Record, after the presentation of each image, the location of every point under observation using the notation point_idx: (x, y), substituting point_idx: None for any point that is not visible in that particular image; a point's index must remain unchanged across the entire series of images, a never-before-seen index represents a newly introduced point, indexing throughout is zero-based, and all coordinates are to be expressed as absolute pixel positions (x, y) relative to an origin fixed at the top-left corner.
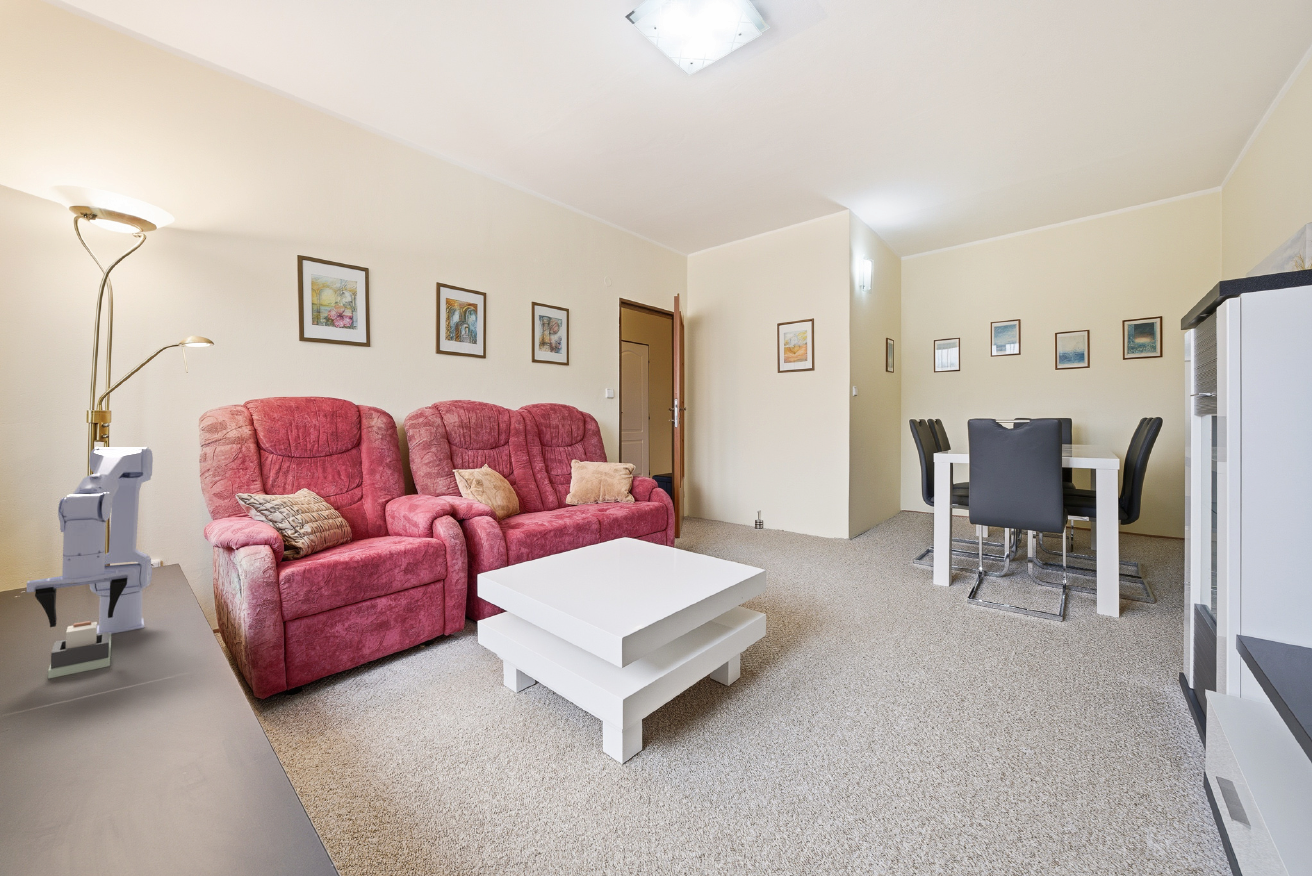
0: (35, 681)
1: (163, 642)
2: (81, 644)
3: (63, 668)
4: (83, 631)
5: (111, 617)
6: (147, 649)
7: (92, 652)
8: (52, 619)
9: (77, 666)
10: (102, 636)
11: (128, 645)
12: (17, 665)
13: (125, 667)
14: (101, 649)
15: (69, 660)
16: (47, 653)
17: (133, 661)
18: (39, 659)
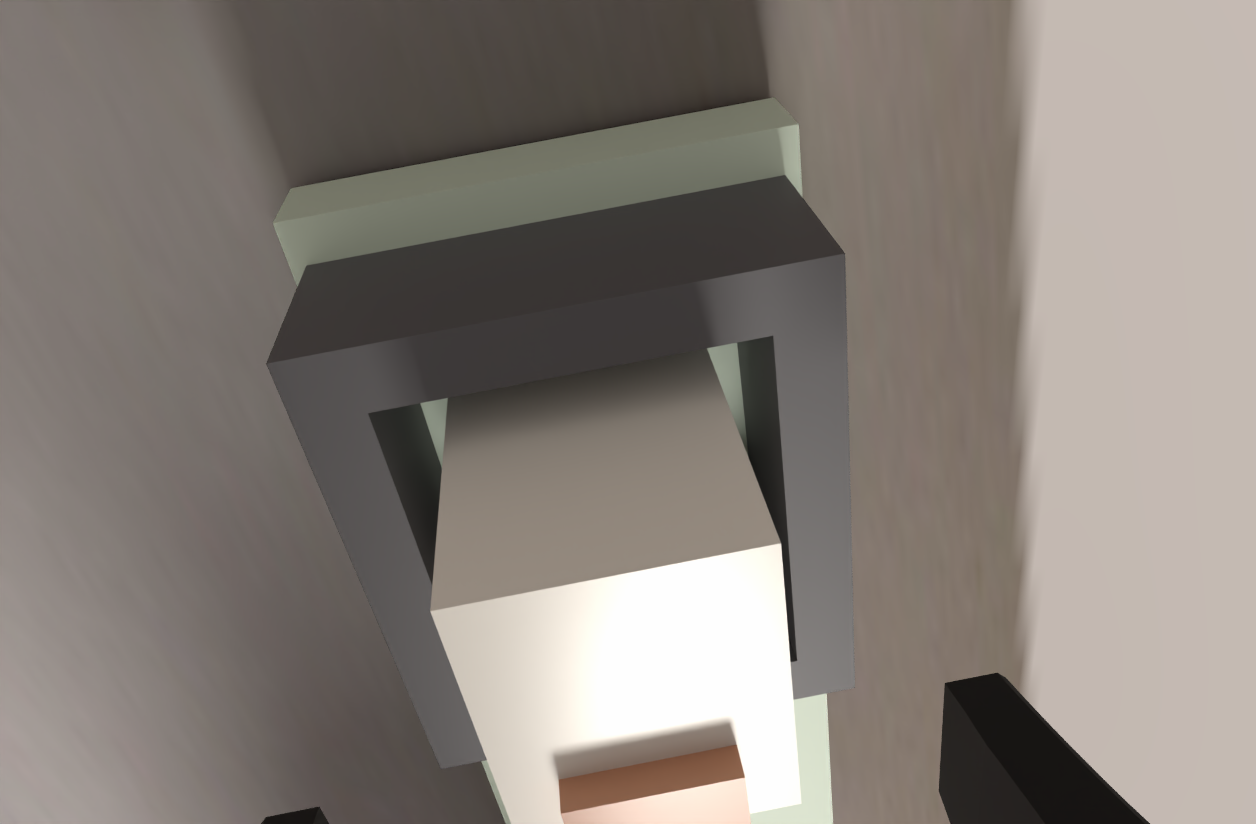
0: (863, 119)
1: (98, 697)
2: (581, 434)
3: (673, 140)
4: (578, 558)
5: (274, 819)
6: (155, 575)
7: (441, 288)
8: (1051, 774)
9: (556, 160)
10: None
11: (378, 736)
12: (998, 636)
13: (94, 55)
14: (350, 306)
15: (644, 226)
16: (861, 784)
17: (109, 253)
18: (891, 694)
